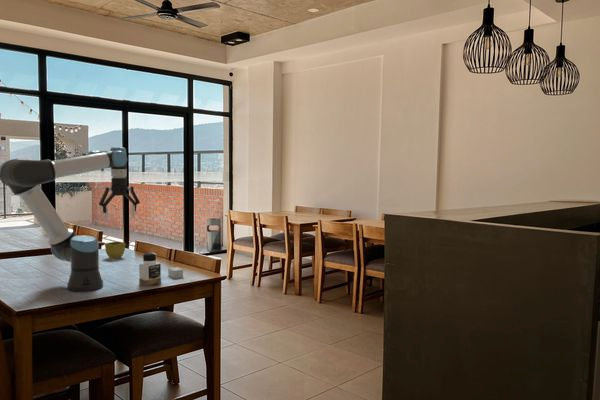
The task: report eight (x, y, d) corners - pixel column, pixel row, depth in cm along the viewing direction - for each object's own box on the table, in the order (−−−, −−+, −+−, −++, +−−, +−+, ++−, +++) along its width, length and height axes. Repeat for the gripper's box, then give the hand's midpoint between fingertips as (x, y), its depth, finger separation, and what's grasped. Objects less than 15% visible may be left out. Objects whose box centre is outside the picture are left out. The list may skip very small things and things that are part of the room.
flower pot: (126, 257, 290) (125, 242, 290) (113, 259, 283) (113, 244, 282) (116, 255, 295) (116, 241, 294) (104, 258, 288) (104, 243, 287)
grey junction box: (183, 277, 243) (183, 269, 243) (173, 278, 240) (173, 270, 240) (177, 274, 249) (177, 267, 248) (168, 276, 246) (168, 268, 246)
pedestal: (152, 287, 223) (152, 281, 223) (134, 285, 226) (134, 279, 226) (165, 282, 233) (165, 276, 232) (147, 280, 236) (147, 274, 236)
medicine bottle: (148, 280, 224) (148, 255, 223) (139, 278, 228) (138, 253, 227) (161, 277, 230) (160, 253, 229) (151, 275, 234) (151, 251, 233)
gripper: (96, 178, 235) (97, 220, 237) (145, 177, 251) (146, 217, 253) (91, 177, 241) (92, 219, 243) (140, 176, 257) (141, 215, 259)
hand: (120, 218), depth 248 cm, fingers open, 13 cm apart
